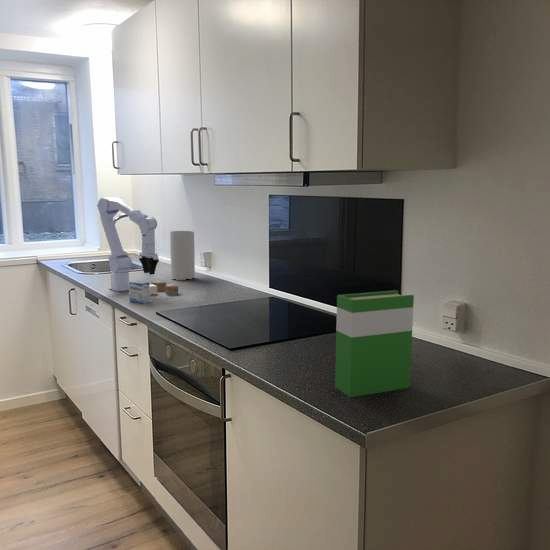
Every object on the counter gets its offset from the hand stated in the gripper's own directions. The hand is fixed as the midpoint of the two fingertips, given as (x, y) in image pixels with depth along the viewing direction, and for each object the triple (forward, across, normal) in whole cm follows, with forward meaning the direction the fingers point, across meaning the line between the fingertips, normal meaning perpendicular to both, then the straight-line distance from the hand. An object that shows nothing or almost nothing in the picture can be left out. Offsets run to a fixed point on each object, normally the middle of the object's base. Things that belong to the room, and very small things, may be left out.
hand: (149, 273), depth 271 cm
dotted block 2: (+10, -6, -8) cm, 14 cm away
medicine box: (+10, -14, +12) cm, 21 cm away
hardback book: (+10, -148, +14) cm, 149 cm away
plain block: (+10, 0, 0) cm, 10 cm away
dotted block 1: (+10, +6, -8) cm, 14 cm away
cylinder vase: (+10, +28, -34) cm, 45 cm away
